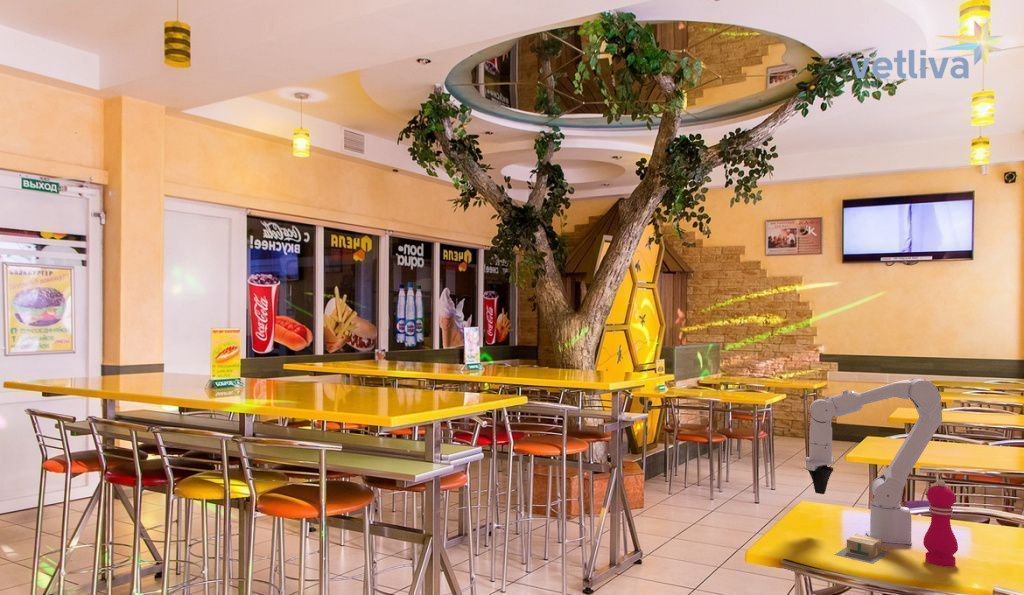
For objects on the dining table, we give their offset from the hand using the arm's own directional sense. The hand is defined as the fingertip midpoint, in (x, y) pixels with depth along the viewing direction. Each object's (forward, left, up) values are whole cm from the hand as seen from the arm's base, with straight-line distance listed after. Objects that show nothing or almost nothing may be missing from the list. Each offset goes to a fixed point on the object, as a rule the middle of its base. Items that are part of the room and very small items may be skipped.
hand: (820, 493), depth 200 cm
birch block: (-6, +20, -9) cm, 22 cm away
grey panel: (-7, +18, -10) cm, 21 cm away
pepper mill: (-24, +19, -11) cm, 32 cm away
